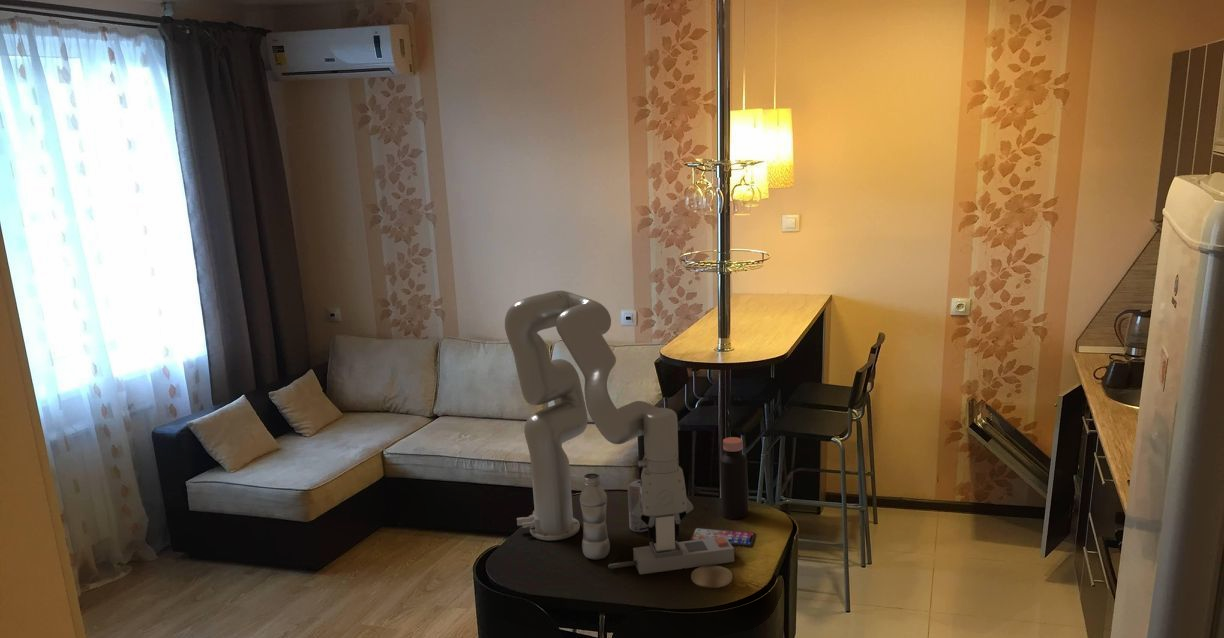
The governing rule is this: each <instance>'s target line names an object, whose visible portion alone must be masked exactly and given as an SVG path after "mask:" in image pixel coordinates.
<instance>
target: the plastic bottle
mask: <svg viewBox="0 0 1224 638" xmlns="http://www.w3.org/2000/svg"><path fill="white" fill-rule="evenodd" d="M583 485H584V487H583V489H582V490H581V492H580V494H579V505H580V509H581V515H582V524H583V531H582V532H583V533H582V540H581V541H582V542H581V549H582V553H583V555H584V556H585V558H587V559H589V560H595V561H596V560H602V559H605V558H606V557H607V556H608V555H609V553H610V549H611V543H610V539H609V536H608V529H607V507H608V506H607V505H608V496H607V493H606V491H605V490H604V488H603V487H602V486H601V477H600V474H599V473H596V472H595V473H593V472H591V473H590V472H589V473H586V474H585V475H584V476H583Z"/></svg>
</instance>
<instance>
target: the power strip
mask: <svg viewBox="0 0 1224 638" xmlns="http://www.w3.org/2000/svg"><path fill="white" fill-rule="evenodd" d="M632 551H633V552H632V553H633V560H628V561H621V562H615V563H609V564H608V565H607V567H608V568H609V569H617V568H624V567H625V568H626V567H630V566H631V567H632V566H635V567H636V569H637V571H638V573H639V574H638V575H645V574H654V573H659V572H660V573H661V572H668V571H675V570H676V571H677V570H682V569H683V568H684V569H691V568H696V567H697V568H699V567H702V566H708V565H719V564H727V563H733V562H735V548H734V546H732V545H731V544H730V542H729V541H728V539H727V538H726V537H725V536H721V537H714V538H706V539H699V540H691V541H690V540H685V541H684V540H683V541H678V540H677V541H675V549H671V550H662V551H657V550H656V548H655V546H654V544H653V542H652V541H650V542H649V545H645V546H639V547H638V546H637V547H633V548H632Z"/></svg>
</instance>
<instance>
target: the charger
mask: <svg viewBox="0 0 1224 638" xmlns="http://www.w3.org/2000/svg"><path fill="white" fill-rule="evenodd" d="M654 525H655V527H656V543H653V544H654V546H655V548H656V550H657V551H662V550H671V549H675V523H674V515H673V514H670V515H661V516H655V520H654Z"/></svg>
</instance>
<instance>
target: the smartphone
mask: <svg viewBox="0 0 1224 638" xmlns="http://www.w3.org/2000/svg"><path fill="white" fill-rule="evenodd" d="M691 533H692V534H691V535H690V538H689V541H691V540H699V539H706V538H714V537H721V536H725V537H726V538H727V539H728V541H729V542H730V544H731V545H732V547H737V546H741V547H740V548H749V547H750V548H752V547H753V545H754V542H753V541H755V538H756V533H755V532H754V531H743V530H742V531H741V530H729V529H718V528H717V529H716V528H715V529H714V528H705V527H704V528H703V527H695V528H694V529H693V532H691ZM743 546H744V547H743Z"/></svg>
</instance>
